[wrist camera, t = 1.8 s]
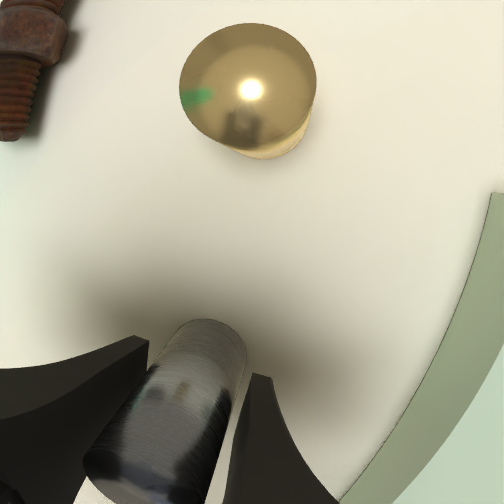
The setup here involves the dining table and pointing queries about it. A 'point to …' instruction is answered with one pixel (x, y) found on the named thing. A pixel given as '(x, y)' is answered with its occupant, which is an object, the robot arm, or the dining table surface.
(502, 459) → the collar plate
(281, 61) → the short pin
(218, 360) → the tall pin
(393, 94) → the dining table surface
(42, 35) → the bolt
